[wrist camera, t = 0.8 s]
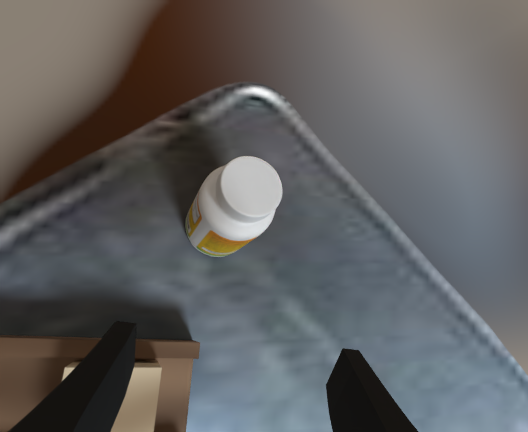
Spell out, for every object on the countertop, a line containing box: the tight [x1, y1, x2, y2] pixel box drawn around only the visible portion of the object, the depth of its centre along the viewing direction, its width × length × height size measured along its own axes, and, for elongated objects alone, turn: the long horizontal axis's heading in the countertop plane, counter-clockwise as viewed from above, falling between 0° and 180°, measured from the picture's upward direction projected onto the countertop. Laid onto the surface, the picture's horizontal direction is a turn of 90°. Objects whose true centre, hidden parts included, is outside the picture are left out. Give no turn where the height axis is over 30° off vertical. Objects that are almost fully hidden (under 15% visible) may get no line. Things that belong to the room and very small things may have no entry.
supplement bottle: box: [185, 156, 282, 257], centre depth 24 cm, size 5×5×10 cm
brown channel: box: [0, 335, 200, 432], centre depth 19 cm, size 8×18×3 cm, turn 88°
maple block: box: [62, 360, 162, 432], centre depth 19 cm, size 5×5×4 cm
